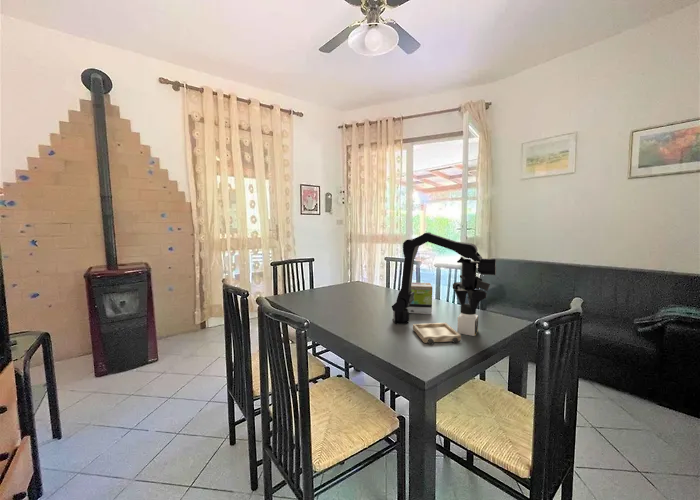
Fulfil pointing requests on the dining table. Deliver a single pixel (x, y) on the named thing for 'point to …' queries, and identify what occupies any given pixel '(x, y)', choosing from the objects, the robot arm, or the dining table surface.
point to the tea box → (421, 298)
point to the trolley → (436, 333)
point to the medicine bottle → (467, 321)
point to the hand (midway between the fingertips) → (467, 309)
